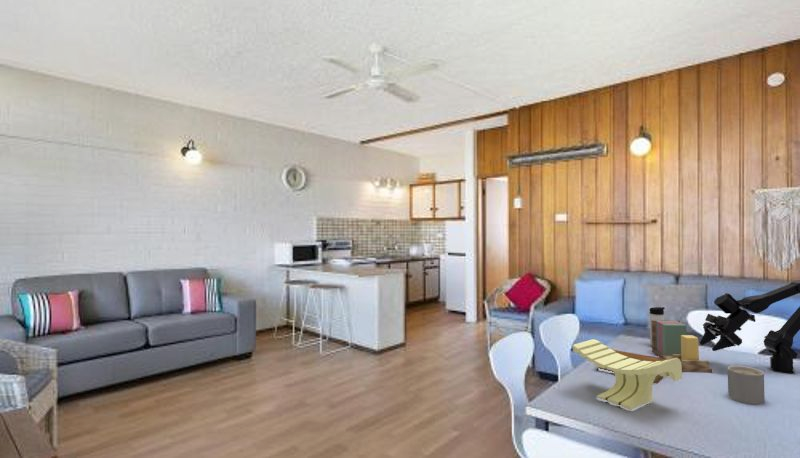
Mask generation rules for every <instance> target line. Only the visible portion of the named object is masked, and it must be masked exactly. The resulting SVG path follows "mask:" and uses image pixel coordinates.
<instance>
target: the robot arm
mask: <svg viewBox="0 0 800 458" xmlns="http://www.w3.org/2000/svg"><path fill="white" fill-rule="evenodd" d="M798 294H800V282H799V281H792V282H790V283H788V284H786V285H784V286H781V287H778V288H776V289H773V290H771V291H769V292H765V293H763V294H758V295H750V296H746V297H745V296H744V297H743V298H742V299H738V300H737V299H735V298H734V297H733V296H732V295H731V294H730V293H727V292H726V293H725V294H723V295H720V296H718V297H716V298H715V299H714V302H713V303H714V305H715V306H716V307H718V309H720V310H721V311H722V312H724V314H729V315H728V316H726V317H724V316H721V315H717V316H716V315H713V314H710V313H708V314H707V315H706V318H705V319H704V320H705V322H704V323H703V324H702V326H703V330H704V332H703V335H702V338H701V340H700V341H699V345H701V346H703V345H706V344H708V343H710V342H712V341H714V340H715V339H718V337H719V340H718V341H717V342H716V343H715V344H714V345H713V347H711V350H712V351H713V352H716V351H720V350H724V349H726V348H730V347H731V348H732V347H736V346H738V347H739V346H740V345H741V344H743V338H741V337H740V336H739V335H738V334H737V333H736V332H737V331H741V330H742V328H741V327H743V325H745V324H746V323H747V322H748V321H751V322H756V316H755V314H761V313H762V312H764V311H765V310H767V309H768V308H769V307H770V306H771V305H773V304H775V303H778V302H780V301H783V300H785V299H788V298H790V297H793V296H795V295H798ZM749 312H750V313H749ZM752 313H754V314H752ZM799 331H800V306H798V307H797V308H796V310H795V311H794V312H793V313H792V315H790V317H789V318H788V319H787V320H786V321H785V322H784V324H782V326H781V327H780V329H778V330H776V331H775V330H772V329H771V330H770V331H768V333H767V334H766V335H765V336H764V340H763V344H764V347H765V348H766V349H767V351H768V353H770V354H771V356H770V357H769V367H770V368H771V369H772V370H773V372H778V373H779V372H780V373H786V374H795V371H794V360H795V359H797V357H798V355H799V354H798V352H796V350H794V349H793V348H792V347H793V345H794V337H795V336H796V335H797V334H798V332H799Z"/></svg>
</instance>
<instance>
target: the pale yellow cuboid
mask: <svg viewBox="0 0 800 458" xmlns="http://www.w3.org/2000/svg"><path fill="white" fill-rule="evenodd" d="M699 346H700V342H699V338H698V337H697V336H695V335H692V334H687V335H681V360H700V357H699V356H700V355H699V353H700V350H699V349H700V348H699Z"/></svg>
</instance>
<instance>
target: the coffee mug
mask: <svg viewBox="0 0 800 458" xmlns="http://www.w3.org/2000/svg"><path fill="white" fill-rule="evenodd" d="M727 393H728V394H727V396H728V398H730V399H732V400H734V401H736V402H740V403H742V404H749V405H763V404H765V399H766V398H765V373H764V371H763V370H761V369H758V368H755V367H751V366H745V365H729V366H728V367H727Z"/></svg>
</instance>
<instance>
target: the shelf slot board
mask: <svg viewBox="0 0 800 458" xmlns="http://www.w3.org/2000/svg"><path fill="white" fill-rule="evenodd" d="M656 321H678V322H680V323H681V321H680V320H678V319H677V320H676V319H675V320H673V319H672V320H671V319H664V320H651V328H652V347H651V353H653V354H654V355H656V356H657V357H658V356H659V357H658V358H663V359H669V360H671V359H673V358H679V359H680V361H681V365H682V373H711V374H712V373H713V368H711V367H710V361H709V360H702V359H701V360H700V359H699V360H681V354H672V356H665V355H664V354H662V353H661V352H659V351H658V350H657V341H656Z"/></svg>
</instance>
